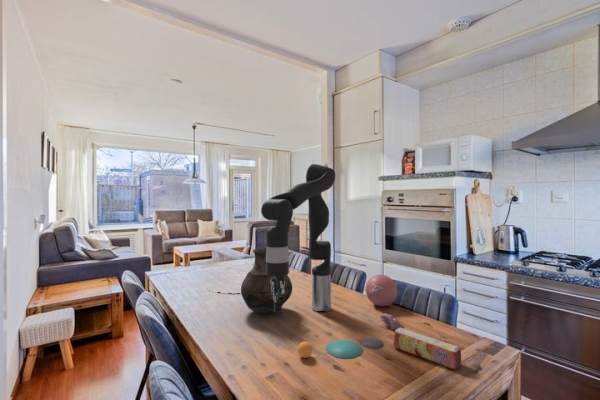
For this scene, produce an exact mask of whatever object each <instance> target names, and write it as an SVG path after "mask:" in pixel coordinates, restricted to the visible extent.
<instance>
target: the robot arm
mask: <svg viewBox="0 0 600 400" xmlns="http://www.w3.org/2000/svg"><path fill="white" fill-rule="evenodd" d="M335 181H336V172H335V170H334V169H333V168H331V167H329V166H325V165H321V164H317V163H316V164H315V163H312V164H310V165H309V166H308V168H307V170H306V175H305V182H301V183H298V184H295V185H293V186H292V187H289V188H288V189H287V190H286V191H284V192H282V193H279V194H276V195H274V196H272V197H270V198H268V199H266V200H265V201H264V202H263V204H262V205H261V209H260V213H261V215H262V217H263V218H264V219H265V220H267V221H273V222H274V221H276V224H275V226H274V227H270V228H268V229H267V231H266V248H267V250H266V274H267V275H269V276H272V279H271V280H270V281H269V283H270V288H271V294H272V297H273V300H274V312H273V313H275V314H281V313H282V311H283V310H282V309H283V305H282V301H284V299H285V296H286V293H287V288H284V286H285V280H284V278H283V277H284V276H285V275H288V276H289V273H290V252H289V231H290V227H291V222H292V219H293V214H294V210H296V209H297V208H298V207H300V206H301V205H302V204H303V203H305V202H306V201H307V200H308V201H307V202H308V231H309V233H308V234H309V235H308V256H309V259H310V260H312V261H323V262H322V263H321V264H317V265H316V266H313V267H312V268H311V309H312V310H313V311H314V310H315V311H314V312H317V311H326V312H329V311H331V310H330V309H332V297H331V296H332V281H331V279H332V278H331V276H332V275H331V274H332V273H331V271H332V270H331V258H332V256H331V255H332V244H331V242H330V241H328V240H318V238H320V236H321V235H322V234H323V233H324V232H325V230H326V229H327V228H328V227H329V224H330V211H329V208H328V205H327V204H326V202H325V199H324V198H323V196H322V195H321V193H323V192H326V191H328V190H329V189H331V188H332V187H333V185H334V183H335ZM328 310H329V311H328Z"/></svg>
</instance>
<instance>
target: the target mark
mask: <svg viewBox="0 0 600 400" xmlns="http://www.w3.org/2000/svg"><path fill="white" fill-rule="evenodd" d="M325 351H326V353H327V354H329V355H331V356H332V357H334V358H338V359H343V360H344V359H347V360H348V359H354V358H357V357H359V356H362V354H363V348H362V346H361V345H360V344H359V343H357V342H355V341H351V340H348V339H347V340H346V339H336V340H332V341H330V342H328V343H327V344H326V346H325Z"/></svg>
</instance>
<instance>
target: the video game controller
mask: <svg viewBox="0 0 600 400" xmlns="http://www.w3.org/2000/svg"><path fill="white" fill-rule="evenodd" d="M380 321H381V322H383V324H385V325H386V327H388V328H390V329H391V331H396V329H398V328H403V329H406V328H405V326H404V325H403V324H401V323H400V322H399V321H398V320H397V318H395V317H394V316H393V315H392V314H389V313H388V314H387V313H382V314H381V315H380Z"/></svg>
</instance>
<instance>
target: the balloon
mask: <svg viewBox="0 0 600 400" xmlns="http://www.w3.org/2000/svg"><path fill="white" fill-rule="evenodd" d="M364 289H365V294H366V297H367V299H368V301H370V302H371V303H372V304H373V305H375V306H378V307H387V306H390V305H391V304H393V303H394V301H395V300H396V298H397V295H398V288H397V285H396V283H395V282H394V280H393V279H392V278H391V277H389V276H387V275H384V274H375V275H373V276H371V277H370V278H369V279H368V280H367V281H366V285H365V288H364Z"/></svg>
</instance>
